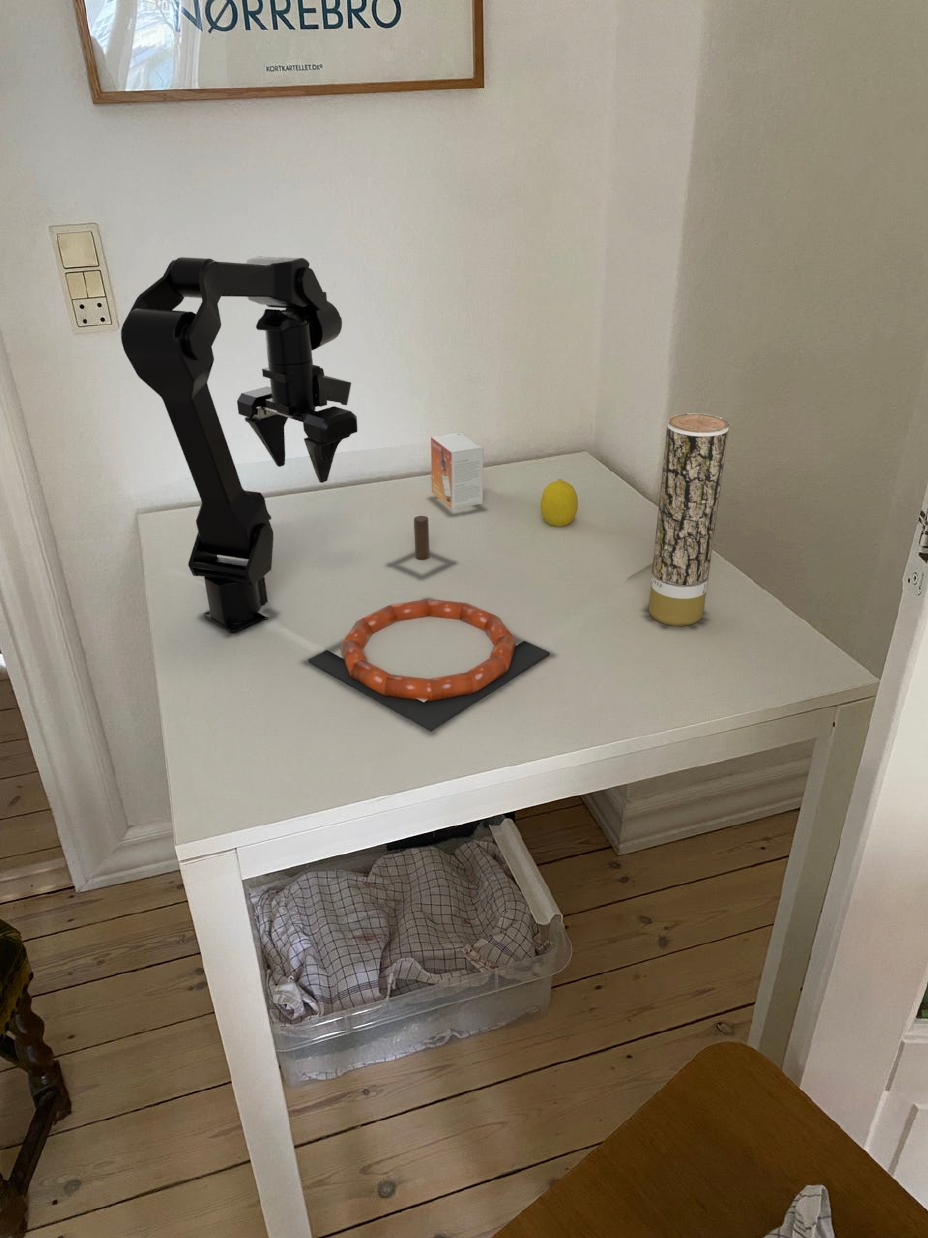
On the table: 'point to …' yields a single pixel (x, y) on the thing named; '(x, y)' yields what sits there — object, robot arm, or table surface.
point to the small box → (457, 470)
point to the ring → (422, 686)
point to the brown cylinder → (421, 537)
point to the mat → (438, 710)
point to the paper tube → (687, 516)
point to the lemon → (559, 503)
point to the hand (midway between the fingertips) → (301, 473)
